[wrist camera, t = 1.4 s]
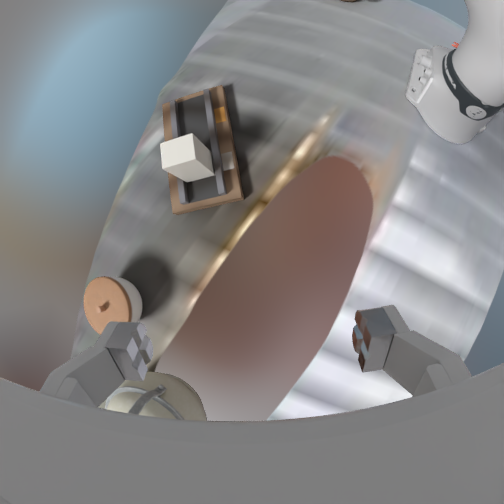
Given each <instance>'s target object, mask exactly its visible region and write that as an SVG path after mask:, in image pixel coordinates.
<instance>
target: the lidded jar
mask: <svg viewBox="0 0 504 504" xmlns="http://www.w3.org/2000/svg"><path fill="white" fill-rule="evenodd" d="M84 309H85V314H86V317H87V319H88V321H89V323H90V325H91V326H92V327H93V329H94V330H95V331H96V332H98V333H99V334H100V335H101V333H102V332H103V330H104V329H105V327H106V325H107V324H108V323H109V322H111V321H114V322H138V321H139V319H140V317H141V314H142V299H141V296H140V293H139V291H138V290H137V288H136V287H135V286H134V285H133V284H132V283H131V282H129V281H128V280H126V279H124V278H120V277H113V276H110V277H105V276H104V277H98V278H95V279H94V280H92V281H91V282H90V283H89V285H88V286H87V288H86V291H85V294H84Z"/></svg>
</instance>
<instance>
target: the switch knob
mask: <svg viewBox="0 0 504 504" xmlns="http://www.w3.org/2000/svg"><path fill="white" fill-rule="evenodd" d="M160 146H161V158H162V169H164V170H165V171H167V172H169V173H171V174H173V175H174V176H176V177H178V178H180V179H182V180H183V181H185V182H191V181H195V180H199V179H202V178H206V177H210V176H214V175H215V169H214V163H213V156H212V152H211V151H210V150H209V149H208V148H207V147H206V146H205V145H204V144H203V143H202V142H201V141H200V140H199V139H198V138H197V137H196V136H195V135H194V134H193V133H191V134H188V135H185V136H181V137H178V138H175V139H172V140H169V141H166V142H163V143H161V144H160Z"/></svg>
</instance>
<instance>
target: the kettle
mask: <svg viewBox="0 0 504 504" xmlns="http://www.w3.org/2000/svg"><path fill="white" fill-rule="evenodd" d="M105 409H108V410H113V411H118V412H124V413H130V414H137V415H144V416H152V417H160V418H170V419H182V420H197V421H207V418H206V414H205V411H204V408H203V404H202V402H201V399H200V397H199V396H198V394H197V393H196V392H195V390H194V389H193V388H192V387H191V386H190V385H189V384H187V383H186V382H185V381H183V380H181V379H180V378H177V377H175V376H173V375H169V374H162V373H158V372H147V373H146V375H145V378H144V381H132V380H125V382H124V383H122V384H121V385H120V387H119V388H117V389H116V390H115V391H114V392H113V393H112V394H111V395H110V396H109V397H108V398H107V401H106V408H105Z"/></svg>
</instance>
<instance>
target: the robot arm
mask: <svg viewBox="0 0 504 504" xmlns="http://www.w3.org/2000/svg"><path fill="white" fill-rule="evenodd" d="M464 1H465V3H466V6H467V9H468V17H469V22H468V27H467V30H466V32H465V34H464V37H463V38H462V40H461V42H460V44H458V43H456V42H454V43H455V44H456V45H453V44H452V46H454V47H456V48H457V49H454V50H451V49H449V48H446V47H442V46H433V47H432V48H431V49H430V50H428V49H418V50H417V51H416V53H415V57H414V61H413V66H412V70H411V74H410V78H409V82H408V86H407V90H406V97H407V99H408V100H409V101H410V102H411V103H412V104H413V105H414V106H415V107H417V109H418V110H419V112H420V114H421V116H422V117H423V119H424V120H425V122H426V123H427V125H428V126H429V127H430V128H431V129H432V130H433V131H434V132H435V133H436V134H437V135H439V136H440V137H442V138H443V139H445V140H447V141H449V142H452V143H455V144H465V143H467V142H469V141H471V140H472V139H473V137H474V136H475V135H476V134H477V133H480V132H483V131H484V130H485V129H486V124H487V123H488V122H489V121H490V120H491V119H492V118H493V117H494V116H495V114H496V113H497V112H499V111H501V110H502V108H503V107H504V0H464ZM412 90H413V91H414V92H413V91H412ZM355 321H356V326H355V327H354V328H353V334H352V339H353V346H354V349H355V352H357V353H358V354H359V358H358V361H359V364H360V367H361V369H362V372H369V371H375V370H381V369H383V370H384V371H385V372H386V373H387V374H388V375H389V376H391V377H392V378H393V379H394V380H395V381H396V382H398V383H399V384H400V385H401V386H402V387H404V388H405V389H406V390H407V391H408V392H409V393H411V394H412V395H413V396H412V397H411V398H408V399H404V400H400V401H396V402H392V403H388V404H384V405H379V406H375V407H370V408H365V409H360V410H355V411H349V412H343V413H337V414H330V415H323V416H316V417H307V418H297V419H286V420H271V421H240V422H239V421H238V422H235V421H234V422H232V421H230V422H229V421H197V420H182V419H170V418H160V417H152V416H144V415H137V414H130V413H124V412H118V411H113V410H108V409H103V408H98V406H99V405H101V404H102V403H103V402H104V401H105V400H106V399H107V398H108V397H109V396H110V395H111V394H112V393H113V392H114V391H115V390H116V389H117V388H118V387H119V386H120V385H121V384H122V383H124V382H125V380H132V381H144V378H145V375H146V373H147V370H148V369H147V366H146V364H148V363H149V362H150V361H151V359H152V356H153V346H152V342H151V340H150V338H149V337H147V336H146V335H145V334H146V331H147V330H146V327H145V325H144V324H143V323H138V322H114V321H111V322H109V323H108V324H107V325H106V327H105V329H104V330H103V332H102V333H101V335H100V337H99V338H98V340H97V342H96V343H95V345H94V347H89V348H88V349H86V350H85V351H83V352H81V353H80V354H78V355H77V356H75V357H74V358H72V359H71V360H69V361H68V362H66V363H64V364H63V365H61V366H60V367H58V368H57V369H55V370H54V371H52V372H51V373H50V375H49V377H48V378H47V380H46V381H45V383H44V385H43V386H42V388H41V390H40V392H38V391H35V390H32V389H29V388H27V387H24V386H21V385H18V384H15V383H13V382H10V381H8V380H5V379H3V378H1V377H0V504H504V363H502V364H500V365H498V366H496V367H494V368H492V369H489V370H487V371H485V372H483V373H480V374H478V375H476V376H473V377H472V376H471V374H470V372H469V370H468V369H467V367H466V365H465V364H464V362H463V361H462V359H461V357H460V356H459V355H457V354H456V353H454V352H452V351H450V350H448V349H447V348H445V347H443V346H441V345H439V344H437V343H436V342H434V341H432V340H430V339H428V338H426V337H425V336H423V335H421V334H419V333H417V332H415V331H414V330H413V331H410V330H409V328H408V326H407V325H406V323H405V321H404V320H403V318H402V317H401V315H400V313H399V312H398V310H397V309H396V307H395V306H394V305H389V306H383V307H379V308H372V309H365V310H357V312H356V314H355Z"/></svg>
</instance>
